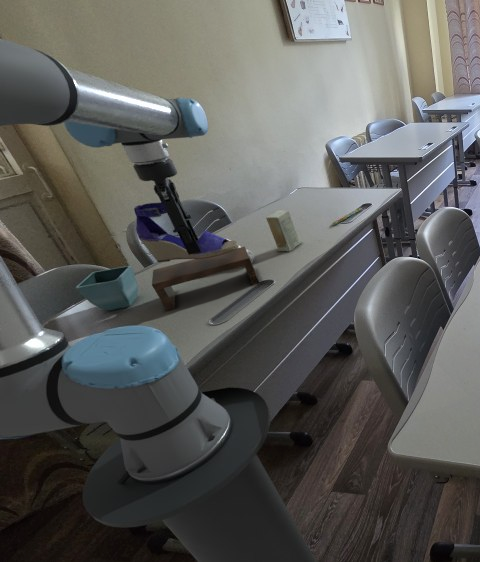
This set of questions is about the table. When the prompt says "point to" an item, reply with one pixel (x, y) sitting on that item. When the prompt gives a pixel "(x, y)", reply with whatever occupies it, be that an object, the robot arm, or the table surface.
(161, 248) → the sandal
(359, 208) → the pencil
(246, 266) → the shoe shelf
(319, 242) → the table surface
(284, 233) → the cosmetic box
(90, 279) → the flower pot
